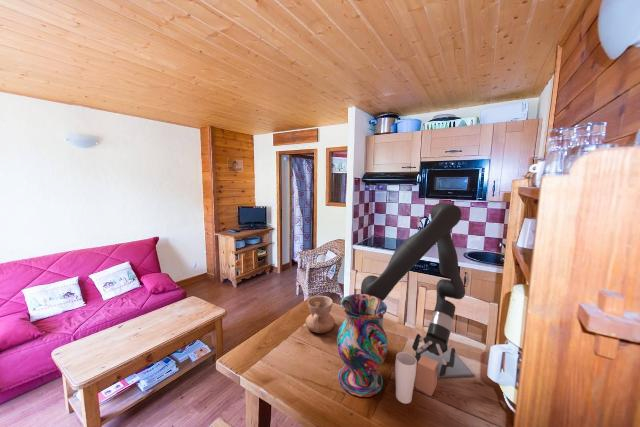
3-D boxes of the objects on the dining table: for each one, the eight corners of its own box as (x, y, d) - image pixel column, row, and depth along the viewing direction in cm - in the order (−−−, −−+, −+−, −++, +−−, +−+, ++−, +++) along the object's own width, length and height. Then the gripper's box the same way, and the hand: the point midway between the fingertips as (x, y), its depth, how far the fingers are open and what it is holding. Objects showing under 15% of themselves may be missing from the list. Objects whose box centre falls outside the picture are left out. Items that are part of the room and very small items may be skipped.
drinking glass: (390, 390, 90) (392, 351, 88) (408, 389, 91) (411, 351, 88) (397, 407, 83) (400, 366, 81) (417, 406, 84) (420, 365, 82)
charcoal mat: (433, 377, 96) (433, 375, 96) (414, 349, 112) (415, 347, 112) (473, 376, 97) (473, 374, 97) (449, 348, 113) (449, 346, 113)
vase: (371, 410, 82) (376, 324, 78) (326, 382, 93) (327, 305, 89) (393, 375, 97) (397, 302, 92) (351, 355, 108) (353, 288, 103)
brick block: (431, 396, 88) (433, 370, 86) (415, 387, 91) (417, 362, 90) (436, 386, 92) (438, 361, 90) (421, 378, 95) (422, 354, 94)
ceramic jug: (312, 316, 137) (311, 291, 135) (338, 320, 133) (338, 295, 131) (299, 336, 120) (299, 308, 118) (329, 342, 116) (329, 313, 114)
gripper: (419, 316, 100) (406, 358, 93) (459, 331, 91) (448, 378, 84) (423, 323, 105) (411, 363, 98) (461, 337, 96) (451, 382, 89)
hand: (428, 370), depth 91 cm, fingers open, 8 cm apart
